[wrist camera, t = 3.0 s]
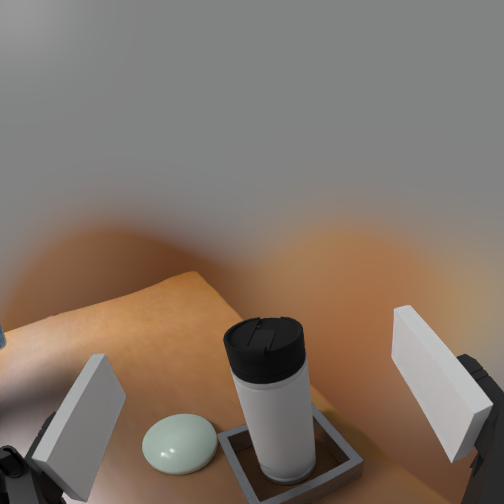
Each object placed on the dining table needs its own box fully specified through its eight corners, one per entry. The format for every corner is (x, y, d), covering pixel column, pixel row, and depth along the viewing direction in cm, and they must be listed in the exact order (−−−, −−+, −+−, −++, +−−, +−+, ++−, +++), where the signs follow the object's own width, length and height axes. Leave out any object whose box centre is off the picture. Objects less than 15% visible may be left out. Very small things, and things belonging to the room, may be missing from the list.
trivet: (141, 430, 38) (138, 424, 38) (206, 411, 41) (204, 405, 41) (151, 483, 29) (147, 478, 29) (228, 461, 32) (226, 456, 32)
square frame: (223, 450, 34) (216, 434, 33) (309, 414, 37) (307, 397, 36) (259, 524, 23) (253, 513, 22) (361, 475, 26) (363, 460, 25)
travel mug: (255, 486, 28) (207, 352, 22) (267, 443, 34) (234, 306, 28) (312, 489, 26) (297, 353, 20) (318, 444, 32) (306, 303, 26)
